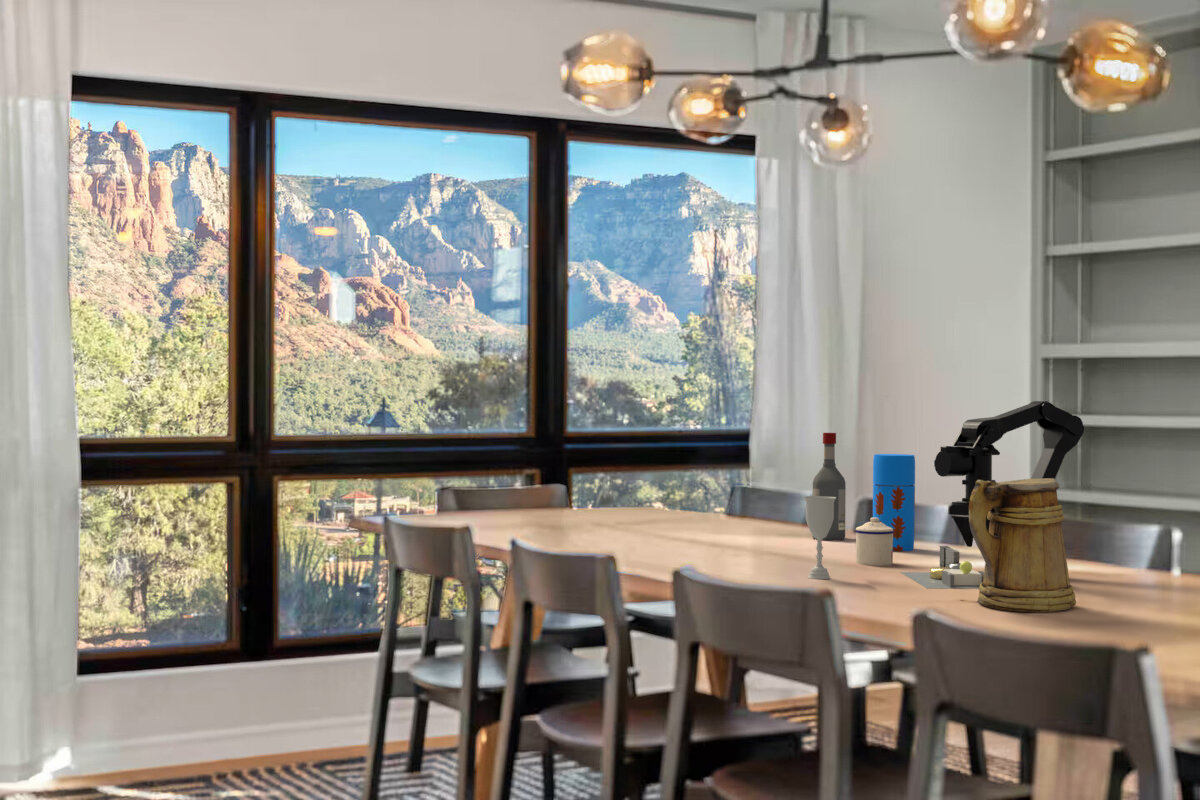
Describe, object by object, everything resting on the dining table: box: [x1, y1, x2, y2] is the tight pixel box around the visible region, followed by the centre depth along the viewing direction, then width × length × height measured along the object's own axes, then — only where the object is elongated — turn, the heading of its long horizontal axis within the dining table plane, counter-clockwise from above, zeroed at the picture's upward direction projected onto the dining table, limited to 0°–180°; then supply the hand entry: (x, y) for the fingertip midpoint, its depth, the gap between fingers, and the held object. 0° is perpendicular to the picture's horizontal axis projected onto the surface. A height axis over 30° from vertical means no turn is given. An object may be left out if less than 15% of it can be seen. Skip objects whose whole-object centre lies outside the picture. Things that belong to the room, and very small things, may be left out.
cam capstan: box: [929, 545, 962, 580], centre depth 315 cm, size 9×18×5 cm, turn 0°
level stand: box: [899, 570, 984, 590], centre depth 306 cm, size 22×26×4 cm
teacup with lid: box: [854, 517, 894, 567], centre depth 337 cm, size 12×9×12 cm
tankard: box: [969, 478, 1077, 613], centre depth 274 cm, size 18×24×25 cm
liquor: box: [812, 432, 847, 541], centre depth 398 cm, size 9×9×30 cm
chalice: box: [803, 495, 836, 580], centre depth 315 cm, size 7×7×18 cm
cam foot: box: [944, 560, 982, 586], centre depth 301 cm, size 6×8×5 cm
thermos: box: [872, 453, 916, 552], centre depth 373 cm, size 11×11×25 cm
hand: (978, 544), depth 316 cm, fingers open, 9 cm apart
